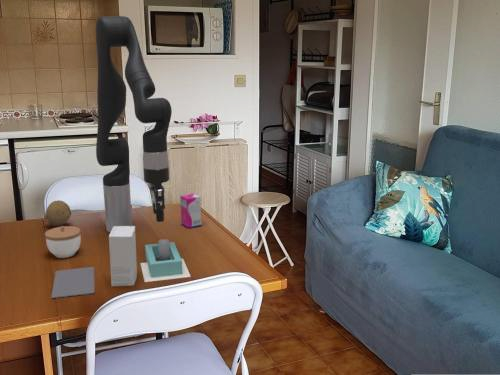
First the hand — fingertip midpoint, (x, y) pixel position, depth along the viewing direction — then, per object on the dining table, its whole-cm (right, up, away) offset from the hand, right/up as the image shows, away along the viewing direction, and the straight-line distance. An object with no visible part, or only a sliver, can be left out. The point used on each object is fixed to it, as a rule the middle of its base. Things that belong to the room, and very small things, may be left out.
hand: (158, 217), depth 162 cm
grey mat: (-21, -18, -13) cm, 30 cm away
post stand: (+3, -16, -6) cm, 17 cm away
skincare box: (-7, -18, -13) cm, 23 cm away
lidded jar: (-31, -12, +7) cm, 34 cm away
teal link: (+2, -14, -3) cm, 15 cm away
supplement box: (+6, -5, +35) cm, 36 cm away
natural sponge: (-42, -6, +34) cm, 54 cm away
